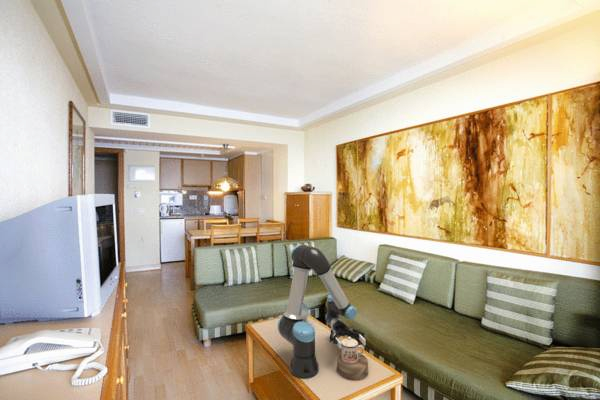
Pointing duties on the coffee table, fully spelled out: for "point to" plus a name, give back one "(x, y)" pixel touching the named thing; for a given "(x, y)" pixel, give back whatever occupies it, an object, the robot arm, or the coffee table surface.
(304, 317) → the decorative ball
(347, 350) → the teacup with lid
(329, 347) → the coffee table surface
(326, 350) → the coffee table surface
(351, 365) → the walnut riser
